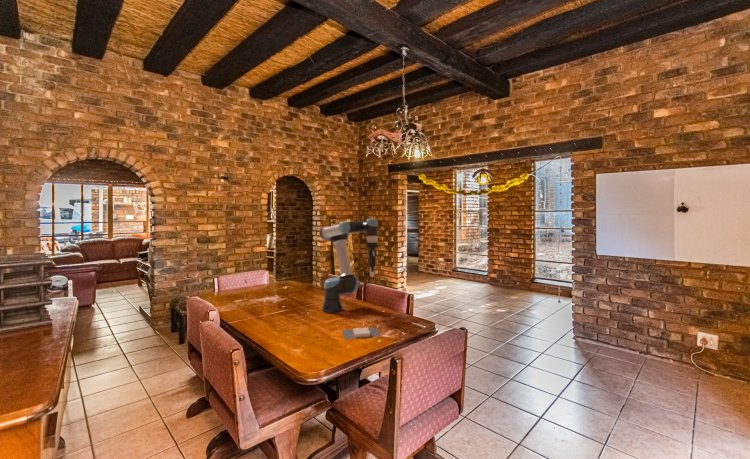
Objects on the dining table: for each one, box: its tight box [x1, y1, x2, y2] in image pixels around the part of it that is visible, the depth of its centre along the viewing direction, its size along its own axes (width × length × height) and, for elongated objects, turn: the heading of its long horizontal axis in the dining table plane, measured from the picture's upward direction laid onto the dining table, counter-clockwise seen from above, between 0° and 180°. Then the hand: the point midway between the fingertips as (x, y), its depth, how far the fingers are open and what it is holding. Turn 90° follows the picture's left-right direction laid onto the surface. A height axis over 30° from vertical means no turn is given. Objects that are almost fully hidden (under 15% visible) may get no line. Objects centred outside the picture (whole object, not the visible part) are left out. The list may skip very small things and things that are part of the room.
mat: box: [341, 327, 382, 340], centre depth 202 cm, size 14×22×1 cm, turn 102°
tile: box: [352, 327, 370, 339], centre depth 201 cm, size 2×9×9 cm
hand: (372, 276), depth 228 cm, fingers closed
